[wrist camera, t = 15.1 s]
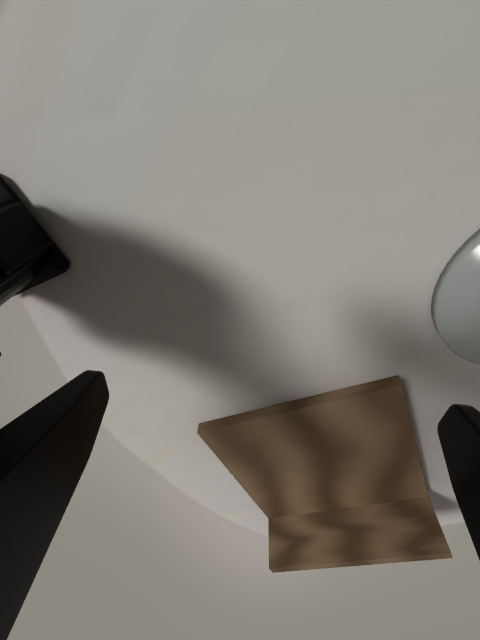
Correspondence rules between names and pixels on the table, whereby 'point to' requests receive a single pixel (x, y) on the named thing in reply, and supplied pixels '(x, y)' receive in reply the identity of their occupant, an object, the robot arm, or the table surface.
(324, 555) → the wooden bookend
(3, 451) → the robot arm
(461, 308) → the ceramic saucer
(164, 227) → the table surface
